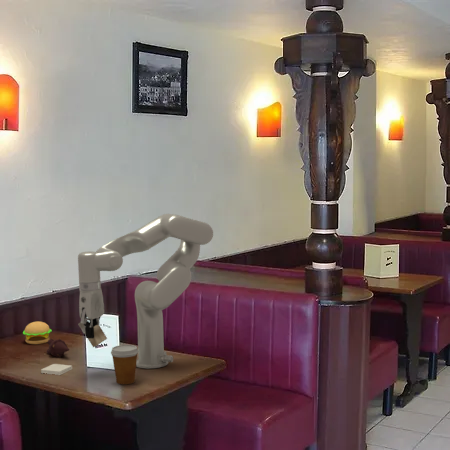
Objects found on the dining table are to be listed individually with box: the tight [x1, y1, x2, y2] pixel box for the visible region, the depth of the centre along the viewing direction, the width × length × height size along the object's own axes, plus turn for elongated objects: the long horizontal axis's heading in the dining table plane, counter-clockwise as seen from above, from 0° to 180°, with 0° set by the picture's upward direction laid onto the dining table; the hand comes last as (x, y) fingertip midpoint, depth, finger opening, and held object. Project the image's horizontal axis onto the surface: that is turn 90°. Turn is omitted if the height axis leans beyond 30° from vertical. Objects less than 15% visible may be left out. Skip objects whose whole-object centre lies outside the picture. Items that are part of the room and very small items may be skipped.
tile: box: [40, 363, 73, 376], centre depth 263 cm, size 2×8×8 cm
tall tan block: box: [77, 322, 108, 348], centre depth 256 cm, size 10×4×5 cm
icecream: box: [46, 338, 70, 358], centre depth 283 cm, size 7×7×15 cm
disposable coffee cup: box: [110, 344, 138, 385], centre depth 248 cm, size 10×10×12 cm
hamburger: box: [22, 320, 52, 345], centre depth 307 cm, size 12×12×9 cm
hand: (92, 336), depth 257 cm, fingers closed on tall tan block, 2 cm apart
